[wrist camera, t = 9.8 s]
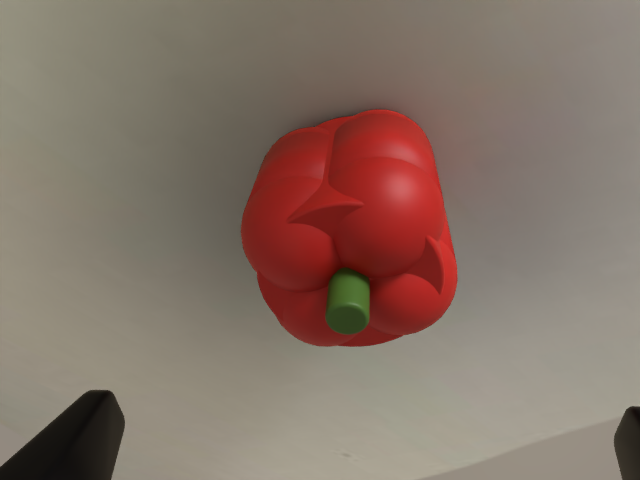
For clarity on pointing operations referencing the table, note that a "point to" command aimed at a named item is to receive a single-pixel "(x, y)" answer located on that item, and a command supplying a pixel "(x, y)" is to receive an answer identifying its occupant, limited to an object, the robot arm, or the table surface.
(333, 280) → the pepper
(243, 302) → the table surface
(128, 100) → the table surface
